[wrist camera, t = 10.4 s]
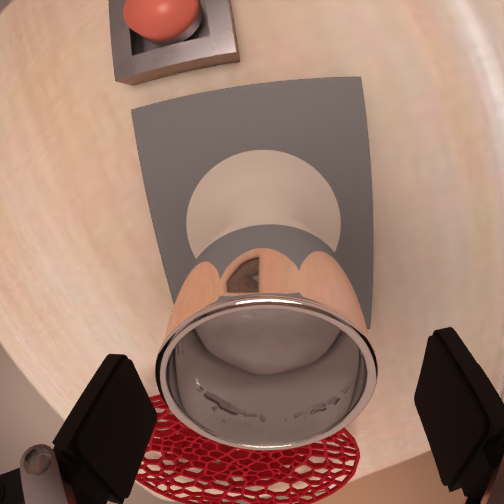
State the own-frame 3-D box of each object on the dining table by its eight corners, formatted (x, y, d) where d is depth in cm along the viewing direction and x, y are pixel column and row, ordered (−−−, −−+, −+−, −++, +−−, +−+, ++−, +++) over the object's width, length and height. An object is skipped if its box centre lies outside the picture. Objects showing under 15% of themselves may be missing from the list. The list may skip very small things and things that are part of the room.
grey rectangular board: (367, 322, 26) (370, 330, 25) (189, 340, 28) (186, 348, 27) (356, 78, 19) (361, 76, 18) (136, 110, 20) (129, 109, 19)
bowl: (91, 427, 36) (79, 453, 31) (198, 302, 26) (185, 338, 22) (251, 500, 42) (249, 524, 37) (397, 425, 32) (407, 455, 28)
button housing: (240, 61, 19) (236, 51, 16) (132, 85, 20) (115, 81, 17) (225, -28, 16) (220, -46, 13) (124, -2, 17) (108, -14, 14)
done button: (206, 36, 17) (197, 23, 14) (143, 52, 17) (125, 43, 14) (199, -15, 15) (189, -33, 12) (138, 1, 16) (121, -13, 13)
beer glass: (230, 281, 24) (192, 457, 10) (207, 191, 21) (109, 310, 8) (322, 265, 23) (378, 436, 9) (308, 171, 21) (388, 264, 7)
